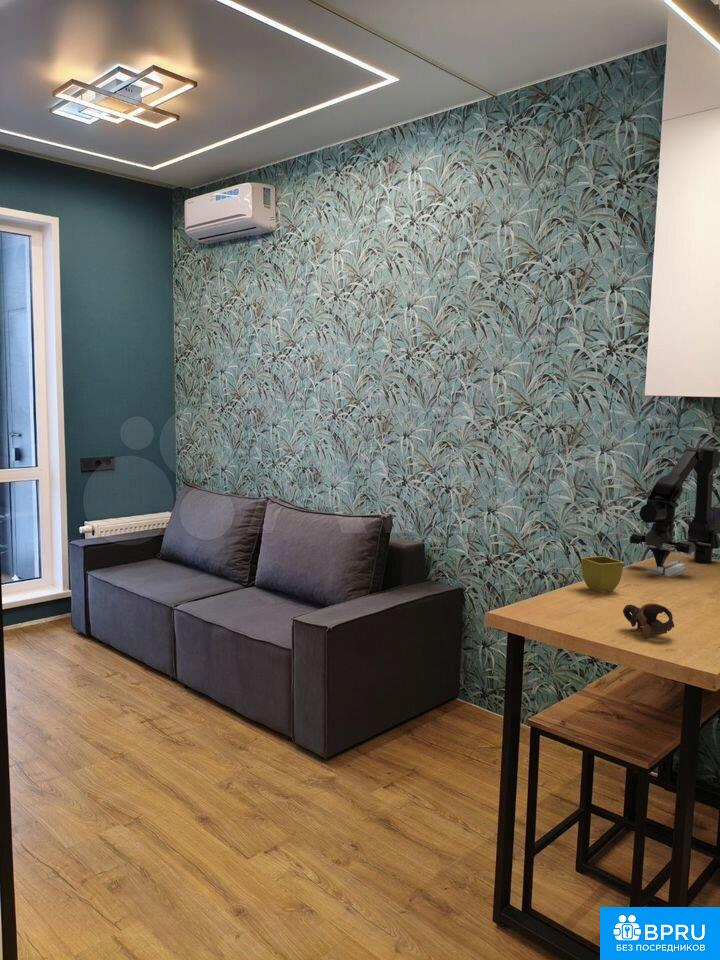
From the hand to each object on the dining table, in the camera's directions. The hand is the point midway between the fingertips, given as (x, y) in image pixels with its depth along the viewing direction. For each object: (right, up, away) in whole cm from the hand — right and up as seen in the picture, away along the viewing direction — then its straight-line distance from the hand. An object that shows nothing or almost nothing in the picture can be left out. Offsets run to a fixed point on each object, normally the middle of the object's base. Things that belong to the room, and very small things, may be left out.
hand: (658, 569), depth 237 cm
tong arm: (+4, 0, +1) cm, 4 cm away
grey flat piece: (+4, -2, +2) cm, 4 cm away
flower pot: (-25, -4, -20) cm, 33 cm away
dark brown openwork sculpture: (-26, -8, -58) cm, 64 cm away
